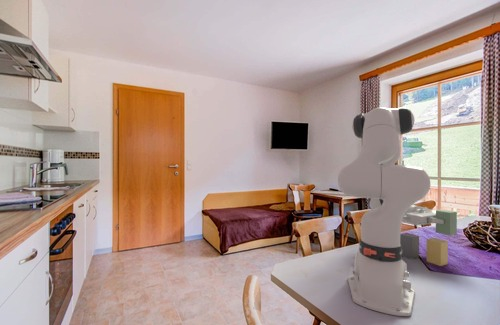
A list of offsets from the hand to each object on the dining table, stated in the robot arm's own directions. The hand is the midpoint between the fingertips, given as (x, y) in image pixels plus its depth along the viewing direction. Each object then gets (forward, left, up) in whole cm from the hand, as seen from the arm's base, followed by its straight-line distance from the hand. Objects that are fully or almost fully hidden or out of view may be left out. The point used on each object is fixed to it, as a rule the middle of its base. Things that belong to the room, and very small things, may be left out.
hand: (448, 221), depth 97 cm
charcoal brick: (0, +13, -17) cm, 21 cm away
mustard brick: (-3, +4, -17) cm, 17 cm away
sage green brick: (+1, +1, -5) cm, 5 cm away
